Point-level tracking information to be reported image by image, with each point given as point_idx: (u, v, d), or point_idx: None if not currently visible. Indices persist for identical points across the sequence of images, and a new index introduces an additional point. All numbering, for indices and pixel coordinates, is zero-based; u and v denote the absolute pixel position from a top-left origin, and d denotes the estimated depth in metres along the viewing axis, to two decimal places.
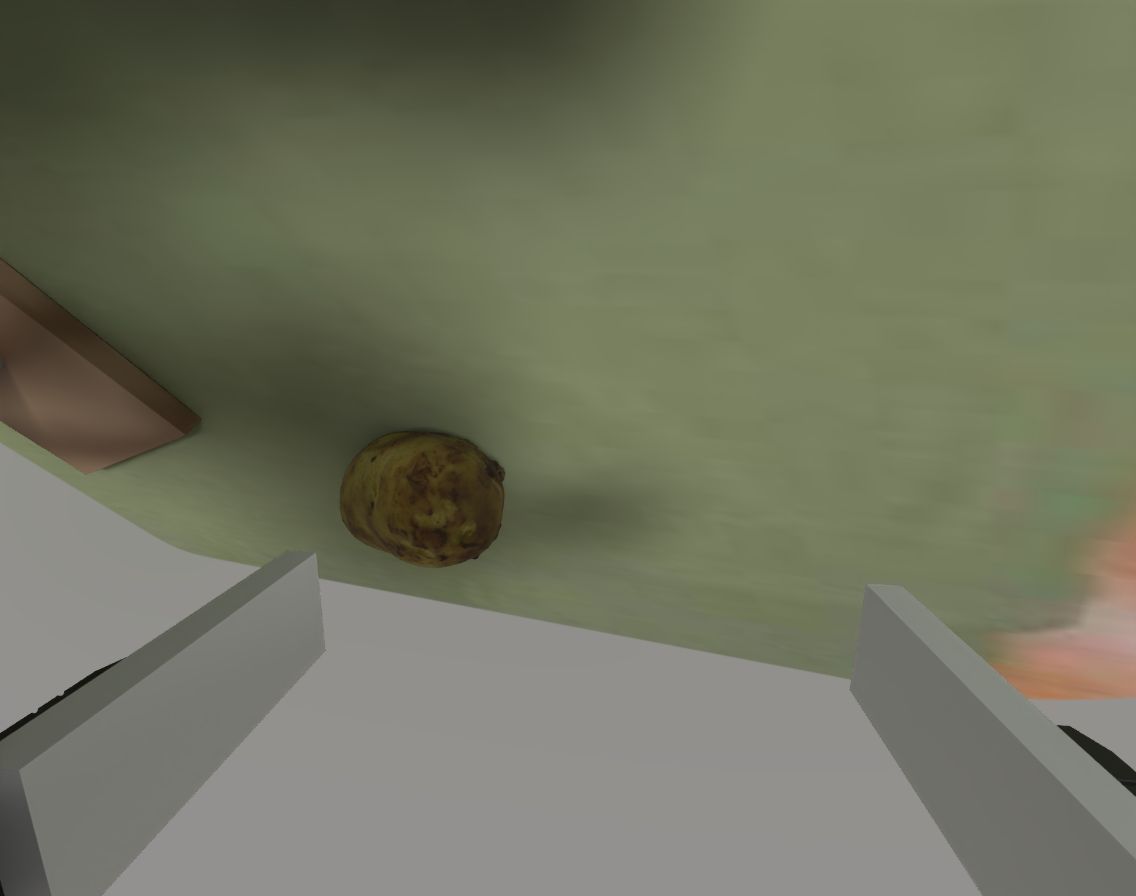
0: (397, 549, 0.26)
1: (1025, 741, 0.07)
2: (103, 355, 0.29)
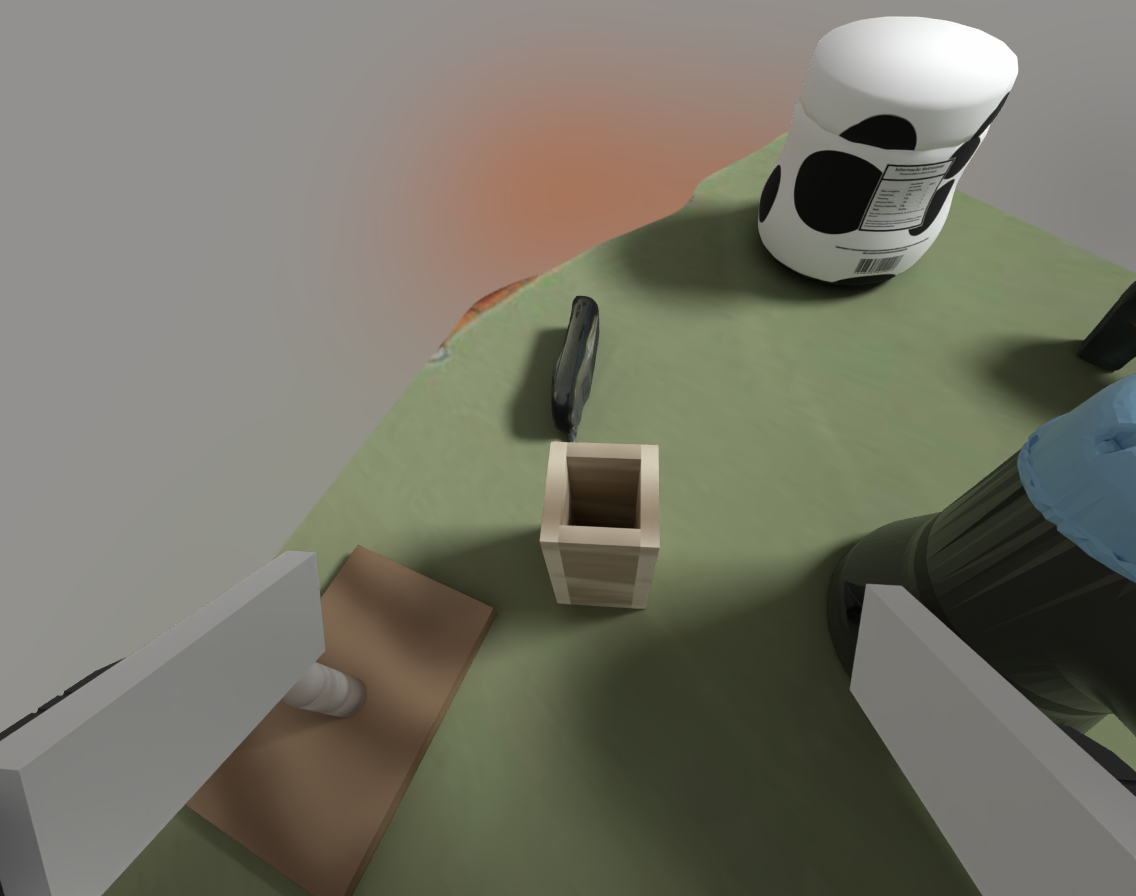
0: None
1: (1025, 741, 0.07)
2: (399, 796, 0.32)
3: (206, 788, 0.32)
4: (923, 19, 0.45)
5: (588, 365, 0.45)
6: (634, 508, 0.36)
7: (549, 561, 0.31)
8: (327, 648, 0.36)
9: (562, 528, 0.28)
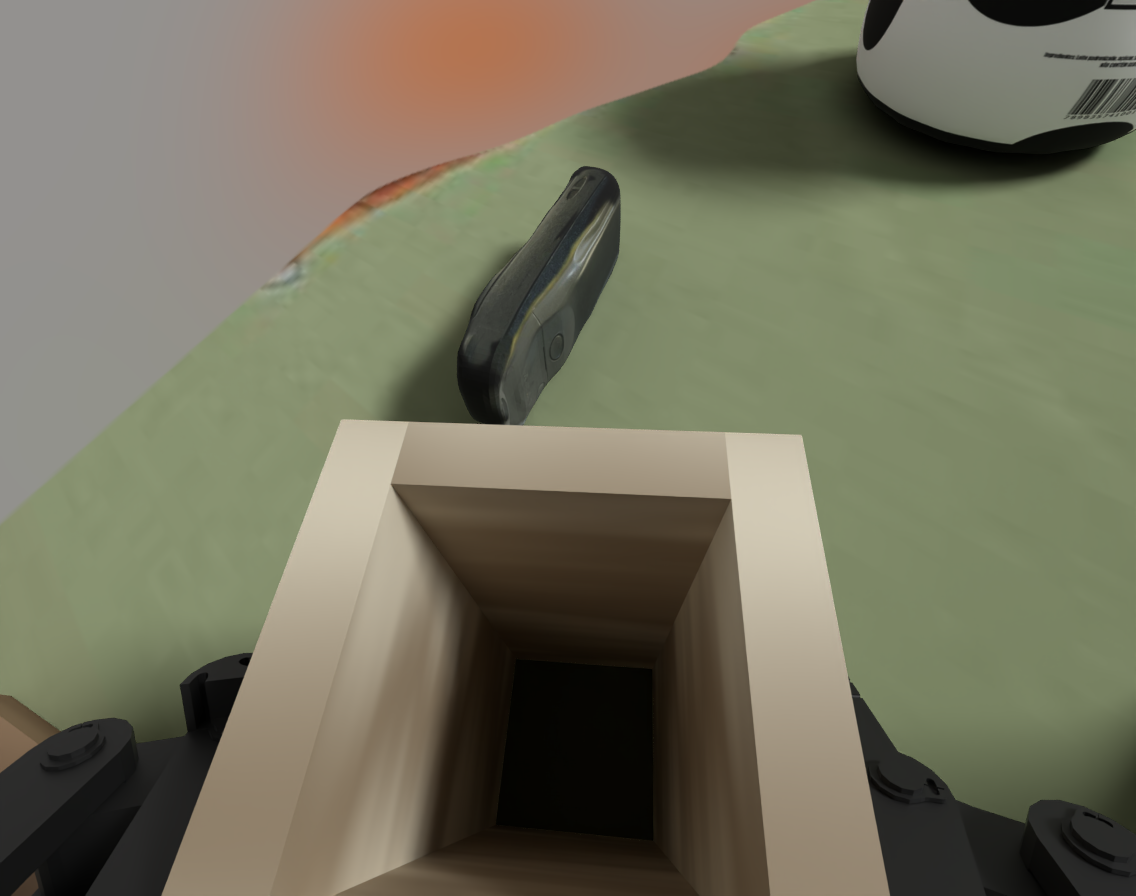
0: None
1: None
2: None
3: None
4: None
5: (564, 292, 0.20)
6: (667, 628, 0.12)
7: None
8: None
9: None
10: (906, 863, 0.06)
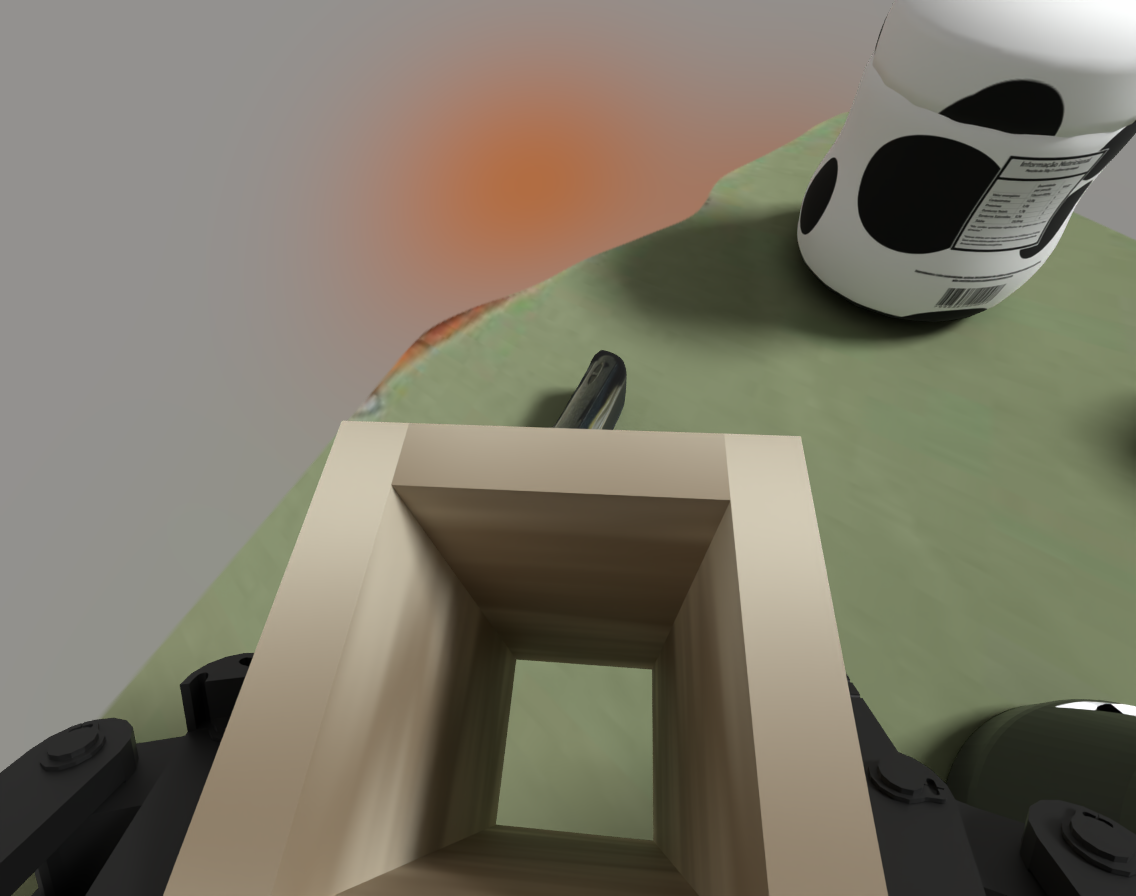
0: None
1: None
2: None
3: None
4: None
5: None
6: (667, 628, 0.12)
7: None
8: None
9: None
10: (905, 862, 0.06)
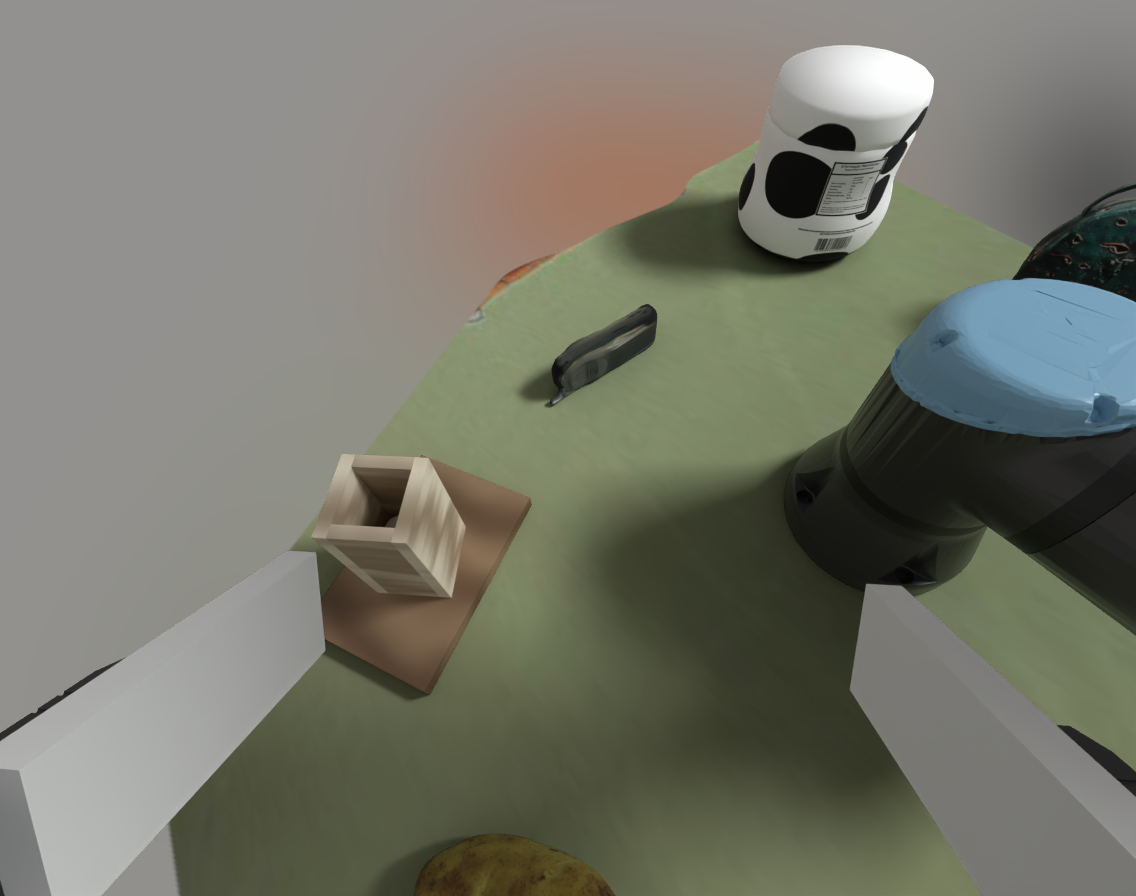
0: None
1: (1025, 741, 0.07)
2: (464, 623, 0.43)
3: None
4: (866, 48, 0.57)
5: (602, 353, 0.54)
6: None
7: (335, 554, 0.37)
8: None
9: (332, 527, 0.34)
10: None
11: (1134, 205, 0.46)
